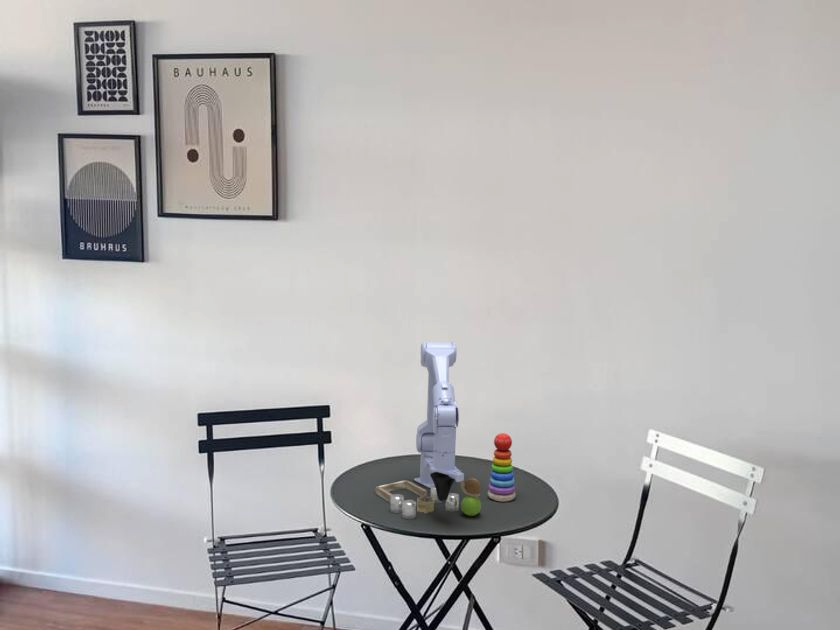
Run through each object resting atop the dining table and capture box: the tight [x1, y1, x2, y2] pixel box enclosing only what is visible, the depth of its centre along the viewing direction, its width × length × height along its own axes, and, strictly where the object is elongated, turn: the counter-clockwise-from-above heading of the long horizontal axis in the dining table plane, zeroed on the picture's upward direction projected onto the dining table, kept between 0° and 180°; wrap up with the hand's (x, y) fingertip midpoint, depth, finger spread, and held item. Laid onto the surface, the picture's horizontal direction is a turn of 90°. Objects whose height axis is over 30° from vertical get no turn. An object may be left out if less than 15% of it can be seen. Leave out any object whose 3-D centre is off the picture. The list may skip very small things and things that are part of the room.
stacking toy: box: [487, 432, 517, 502], centre depth 229 cm, size 8×8×19 cm
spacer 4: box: [445, 492, 460, 513], centre depth 221 cm, size 4×4×4 cm
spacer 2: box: [401, 499, 417, 520], centre depth 215 cm, size 4×4×4 cm
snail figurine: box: [459, 469, 482, 517], centre depth 216 cm, size 5×6×12 cm
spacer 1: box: [389, 493, 405, 514], centre depth 218 cm, size 4×4×4 cm
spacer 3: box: [429, 485, 444, 504], centre depth 226 cm, size 4×4×4 cm
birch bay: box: [374, 479, 428, 503], centre depth 229 cm, size 11×10×2 cm
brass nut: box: [416, 496, 435, 514], centre depth 220 cm, size 5×4×3 cm
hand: (442, 499), depth 213 cm, fingers closed
